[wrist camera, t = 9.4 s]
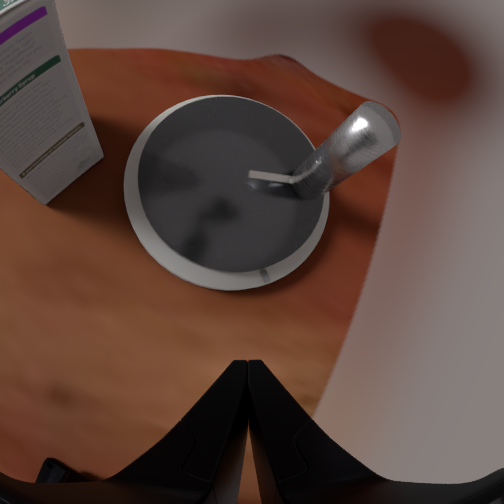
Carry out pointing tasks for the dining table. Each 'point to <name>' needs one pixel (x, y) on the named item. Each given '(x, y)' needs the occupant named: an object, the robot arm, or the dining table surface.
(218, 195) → the dial
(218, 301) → the dining table surface
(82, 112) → the syrup box
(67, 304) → the dining table surface
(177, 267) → the base
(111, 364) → the dining table surface
